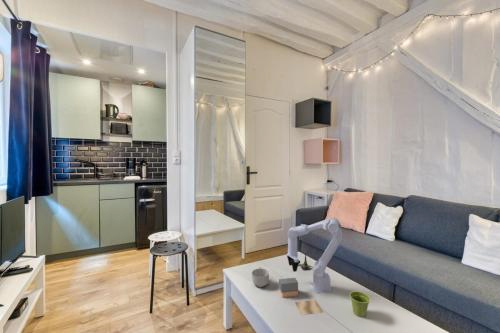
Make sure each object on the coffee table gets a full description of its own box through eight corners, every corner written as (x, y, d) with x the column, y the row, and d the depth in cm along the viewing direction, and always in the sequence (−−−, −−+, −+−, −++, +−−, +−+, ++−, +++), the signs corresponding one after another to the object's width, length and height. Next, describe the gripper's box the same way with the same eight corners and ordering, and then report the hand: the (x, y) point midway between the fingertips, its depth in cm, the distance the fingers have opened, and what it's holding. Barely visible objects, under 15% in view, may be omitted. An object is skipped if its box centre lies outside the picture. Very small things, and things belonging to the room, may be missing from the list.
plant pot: (352, 304, 122) (352, 288, 122) (371, 311, 116) (372, 295, 116) (347, 314, 115) (347, 297, 115) (367, 322, 109) (367, 305, 109)
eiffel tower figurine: (319, 269, 161) (319, 250, 160) (313, 275, 153) (313, 256, 152) (299, 263, 170) (299, 245, 170) (293, 268, 162) (293, 250, 161)
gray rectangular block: (295, 285, 135) (295, 277, 135) (298, 290, 130) (298, 282, 130) (279, 287, 134) (278, 279, 134) (281, 292, 129) (281, 283, 129)
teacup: (267, 290, 136) (267, 277, 136) (250, 288, 139) (250, 275, 138) (270, 277, 150) (270, 266, 150) (254, 276, 152) (254, 264, 152)
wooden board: (315, 300, 126) (315, 299, 126) (323, 312, 116) (323, 312, 116) (294, 302, 125) (294, 302, 125) (301, 315, 115) (301, 314, 115)
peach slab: (294, 290, 136) (294, 285, 136) (297, 296, 130) (297, 291, 130) (279, 291, 135) (279, 286, 135) (282, 298, 129) (282, 292, 129)
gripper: (283, 243, 148) (283, 263, 149) (290, 252, 134) (290, 274, 135) (293, 242, 149) (293, 262, 150) (301, 251, 135) (301, 273, 136)
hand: (292, 268), depth 143 cm, fingers open, 7 cm apart
